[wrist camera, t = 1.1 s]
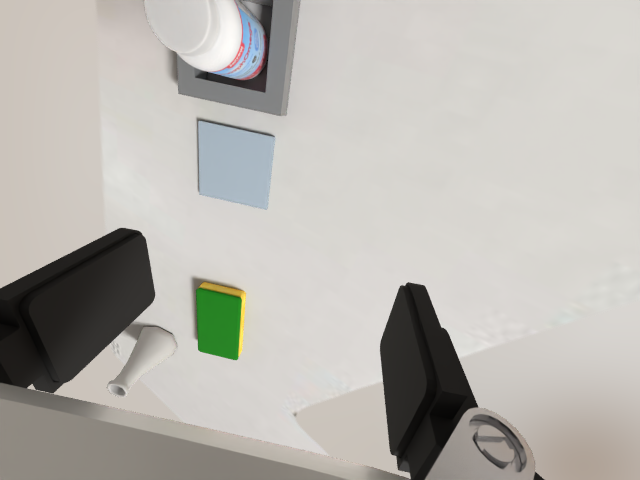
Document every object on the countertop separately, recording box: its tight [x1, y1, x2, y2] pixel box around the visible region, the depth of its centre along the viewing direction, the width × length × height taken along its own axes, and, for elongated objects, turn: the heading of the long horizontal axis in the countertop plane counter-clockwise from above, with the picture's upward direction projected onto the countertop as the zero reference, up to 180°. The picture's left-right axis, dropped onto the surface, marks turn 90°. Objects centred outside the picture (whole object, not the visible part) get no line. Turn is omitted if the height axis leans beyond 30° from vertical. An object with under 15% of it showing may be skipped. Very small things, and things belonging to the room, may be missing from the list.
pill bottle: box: [144, 0, 268, 80], centre depth 23 cm, size 6×6×11 cm
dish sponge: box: [196, 282, 246, 360], centre depth 44 cm, size 7×14×2 cm, turn 170°
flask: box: [107, 327, 177, 397], centre depth 45 cm, size 7×7×10 cm
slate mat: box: [198, 120, 275, 210], centre depth 33 cm, size 9×9×1 cm
